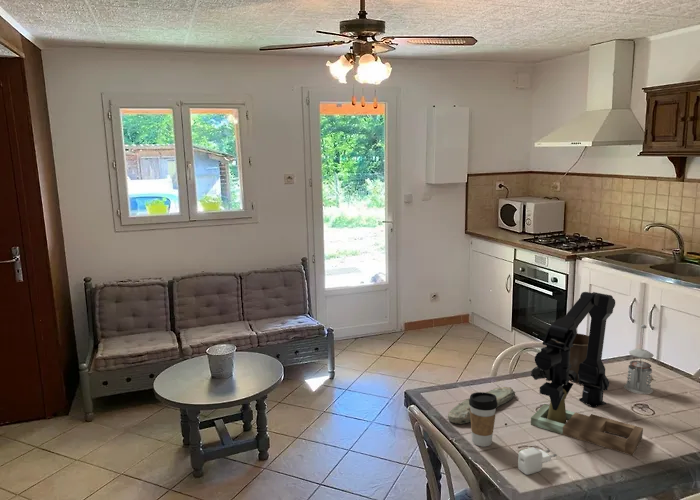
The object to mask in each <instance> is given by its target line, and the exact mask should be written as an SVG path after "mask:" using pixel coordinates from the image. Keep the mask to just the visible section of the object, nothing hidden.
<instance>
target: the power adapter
mask: <svg viewBox="0 0 700 500" xmlns="http://www.w3.org/2000/svg"><path fill="white" fill-rule="evenodd" d="M550 452H551V450H550V449H545V450H543V449H538V448H536V447H532V446H531V447H529V448H525V449H522V450H519V452H518V456H517V457H518V458H517V459H518V460H517V461H518V462H517V468H518V470H519V471H520V472H522V473H523V474H524V475H526V476H528V475H533V474H536V473H538V472H541V471H542V469H543V464H544V463H548V462H550V461H552V458H555V457H557V454H556V453H554V454H551V455H550V454H548V453H550Z"/></svg>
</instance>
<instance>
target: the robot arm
mask: <svg viewBox="0 0 700 500" xmlns="http://www.w3.org/2000/svg"><path fill="white" fill-rule="evenodd" d="M615 306H616V300H615V298H614V297H613V296H612V295H611V294H605V293H601V292H600V293H599V292H595V291H593V292H589V291H583V292H581V293H580V296H579V298H578V300H576V302H575V303H574V304H573V306H572V307H571V308H570V309H569V310H568V311H567V313H566V314H565V315H564V316H563V317H560V318H557V319H556V320H555V321H553V322H552V323H551V324H550V326H549V327H548V329H547V332H546V333H545V336H544V339H543V341H542V345H543V347H541V348H540V351H539V352H537V353H536V354H535V356H534V363H535V365H536V366H535V367H534V368H532V369H531V371H530V372H531V373H530V376H531V377H532V378H533V380H535V381H536V380H541V379H545V380H546V382H544V383H543V384H541V386H540V387H539V394H540V395H543V396H546V397H549V400H550V401H551V404H552V407H553V410H557V409H558V407H559V404H560V402H561V400H562V398H563V396H564V394H565V393H564V392H563V389H565V390H566V392H567V395H568V394H569V393H570V390H571V389H572V387H573V385H574V382H577V381H576V380H577V374H576V372H575V371H572V370H569V369H570V368H571V364H570V348H571V347H573V344H572V343H573V341H574V339H575V337H576V335H577V333H578V330H577V328H578V327H579V325H580V324H581V323H582V321H584V319H585V318H586V317H587V315H589V316H590V326H589V332H588V333H589V334H588V336H589V340H588V348H587V356H586V359H585V360H584V361H583V362H582V363H580V365H579V371H578V379H579V381H578V384H580V385H582V386H583V389H582V392H581V393H582V394H581V397H580V398H578V400H579V401H580V402H582V403H584V404H586V405H587V406H589V407H592V408H596V407H599V406H604V405H607V402H605V401H604V391H608V390H609V387H610V384H611V383H610V381H609V379H608V377H607V376H606V367H605V365H604V363H603V361H602V358H603V350H604V343H605V342H604V341H605V333H606V326H607V325H606V324H607V320H608V319H609V317H610V316H611V315H612V314H613V313H614V308H615ZM556 341H558V342H559V343H557V342H556ZM544 346H545V347H544ZM570 378H572V380H570ZM570 381H572V382H573V383H572V382H570Z"/></svg>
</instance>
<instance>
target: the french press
mask: <svg viewBox="0 0 700 500" xmlns="http://www.w3.org/2000/svg"><path fill="white" fill-rule="evenodd" d="M640 329H642V334H645V333H644V331H645V329H647V325H646V324H641V325H640ZM641 338H642V339H641V346H643V343H644V336H642V337H641ZM628 354H629V355H630V356H631V357H634V358H638V359H640V360H631V361H630V362H629V365H627V377H626V378H627V380H626V384H624V385H623V388H624V389H625V390H626V391H629V392H630V393H634V394H641V395H649V394H652V393H653V392H654V390H653V388H652V386H651V385H652V384H651V383H652V381H651V380H652V377H653V376H652V374H653V369H652V368H651V367H652V364H650V363H649V362H646V361H643V360H644V359H645V360H646V359H647V360H648V359H652V358H653V357H654V354H653V353H652V352H651V351H648V350H647V349H643V347H641V348H633V349H632V350H631V349H630V350H629V351H628Z"/></svg>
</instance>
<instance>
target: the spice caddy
mask: <svg viewBox="0 0 700 500" xmlns="http://www.w3.org/2000/svg"><path fill="white" fill-rule="evenodd" d="M549 406H550V404H547V403H544V404H543V405H542V406H541V407H540V408H539V409H538V410H537V411H536V412H535V413H534V414H533V415H532V416H531V417H530V426H534V427H537V428H540V429H544V430H546V431H550V432H554V433H557V434H560V435H564V436H567V437H570V438H574V439H577V440H580V441H582V442H587V443H590V444H593V445H597V446H599V447H602V448H603V447H604V448H606V449H609V450H613V451H616V452H620V453H623V454H627V455H629V456H634V454H635V453H636V450H637V449H638V447H639V445H640V443H641V442H642V439H643V431H644V428H643V427H641V426H637V425H633V424H628V423H625V422H622V421H619V420H615V419H611V418H607V417H604V416H601V415H596V414H593V413H591V414H590V415H585V414H582V413H580V412H579V413H578V412H575V411H571V410H568V409H566V421H567V422H566V423H565V424H563V423H559V422H556V421H552V420H549V419H547V416H548V411H549Z"/></svg>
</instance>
